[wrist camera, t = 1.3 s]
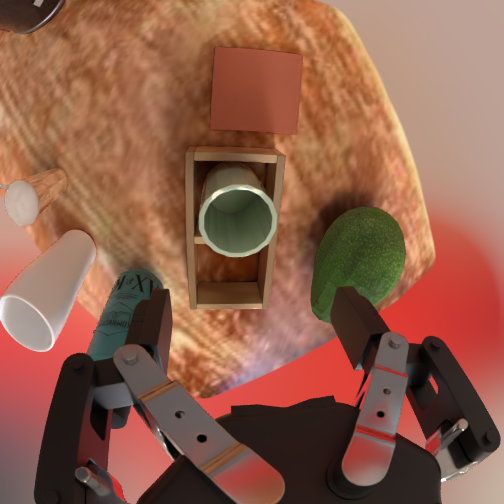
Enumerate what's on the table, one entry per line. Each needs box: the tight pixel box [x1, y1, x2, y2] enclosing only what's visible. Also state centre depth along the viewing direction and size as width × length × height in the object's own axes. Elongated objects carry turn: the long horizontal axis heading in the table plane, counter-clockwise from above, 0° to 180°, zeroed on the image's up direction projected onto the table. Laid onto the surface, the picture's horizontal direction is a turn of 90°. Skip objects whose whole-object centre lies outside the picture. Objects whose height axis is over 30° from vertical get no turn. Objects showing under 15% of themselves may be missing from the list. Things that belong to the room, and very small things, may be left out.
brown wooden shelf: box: [185, 146, 286, 309], centre depth 31 cm, size 9×17×4 cm, turn 176°
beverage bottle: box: [86, 269, 163, 429], centre depth 26 cm, size 6×7×20 cm
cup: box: [199, 161, 277, 257], centre depth 27 cm, size 6×6×10 cm
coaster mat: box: [210, 47, 303, 135], centre depth 26 cm, size 9×9×1 cm
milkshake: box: [0, 168, 68, 226], centre depth 23 cm, size 5×5×10 cm
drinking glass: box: [0, 229, 96, 352], centre depth 25 cm, size 7×7×15 cm
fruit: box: [311, 206, 406, 323], centre depth 32 cm, size 15×10×10 cm, turn 155°
